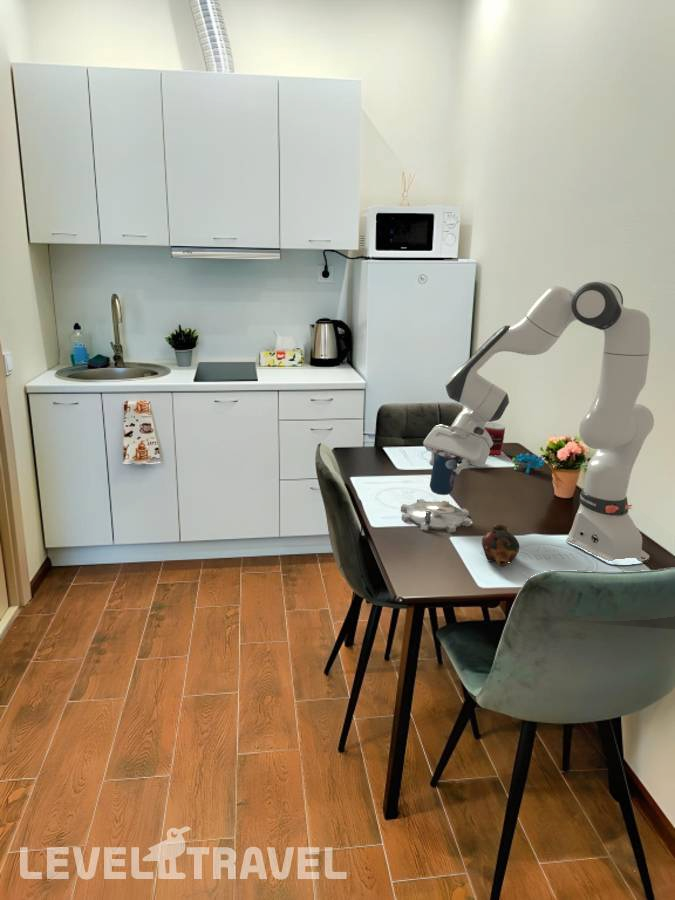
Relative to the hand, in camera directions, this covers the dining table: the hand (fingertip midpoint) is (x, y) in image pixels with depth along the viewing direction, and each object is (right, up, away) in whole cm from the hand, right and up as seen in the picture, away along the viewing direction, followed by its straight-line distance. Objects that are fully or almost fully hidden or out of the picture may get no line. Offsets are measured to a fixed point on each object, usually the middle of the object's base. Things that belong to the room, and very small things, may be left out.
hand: (443, 468), depth 200 cm
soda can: (0, -7, +3) cm, 8 cm away
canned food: (+28, +4, +64) cm, 70 cm away
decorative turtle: (+11, -23, -23) cm, 34 cm away
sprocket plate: (-2, -14, +1) cm, 15 cm away
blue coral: (+37, -2, +46) cm, 60 cm away
